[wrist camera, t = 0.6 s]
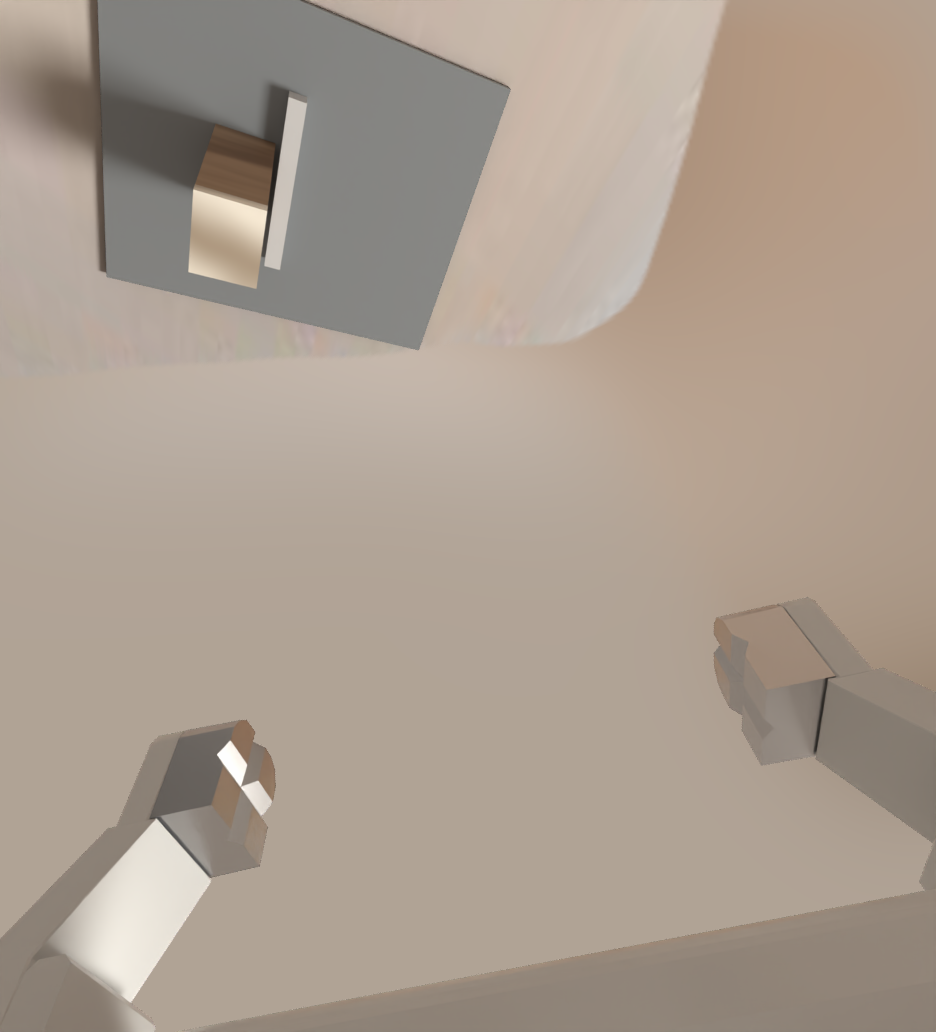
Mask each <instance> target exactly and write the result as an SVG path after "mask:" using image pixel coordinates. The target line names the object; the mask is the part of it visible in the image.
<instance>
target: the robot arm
mask: <svg viewBox="0 0 936 1032" xmlns="http://www.w3.org/2000/svg"><path fill="white" fill-rule="evenodd" d="M714 635H715V637H716V639H717V641H718V642H719V644H720V646H719V647H718V649H717V650H716V651H715V652H714V668H715V672H716V676H717V681H718V684H719V686H720V689H721V691H722V694H723V696H724V698H725V700H726V702H727V704H728V706H729V707H730V708H731V709H732V710H734V711H736V712H737V713H739V714H741V715H742V732H743V733H744V735H745V737H746V739H747V741H748V743H749V744H750V746H751V748H752V750H753V752H754V753H755V755H756V757H757V759H758V760H759V762H760V764H761V765H766V764H772V763H778V762H784V761H790V760H796V759H802V758H807V757H813V756H816V760H818V761H819V762H821V763H822V764H823V765H825V766H826V767H828V768H829V769H830V770H832V771H833V772H834V773H836V774H837V775H839V776H840V777H841V778H843V779H845V780H846V781H847V782H848V783H850V784H851V785H853V786H854V787H856V788H857V789H858V790H860V791H861V792H862V793H864V794H865V795H867V796H868V797H869V798H871V799H872V800H874V801H875V802H876V803H878V804H879V805H881V806H882V807H883V808H885V809H886V810H887V811H889V812H891V813H892V814H893V815H894V816H896V817H897V818H899V819H900V820H901V821H903V822H904V823H906V824H907V825H908V826H910V827H911V828H913V829H914V830H915V831H917V832H918V833H919V834H921V835H922V836H924V837H925V838H927V839H928V840H929V841H931V842H932V843H933V845H932V848H931V850H930V853H929V856H928V859H927V861H926V864H925V867H924V870H923V872H922V875H921V878H920V881H919V882H920V884H921V885H922V887H923V888H924V889H925V891H921V892H916V893H910V894H905V895H900V896H895V897H889V898H884V899H879V900H873V901H868V902H863V903H857V904H852V905H847V906H841V907H836V908H831V909H825V910H821V911H815V912H810V913H805V914H799V915H794V916H788V917H783V918H778V919H772V920H767V921H762V922H756V923H751V924H746V925H740V926H735V927H730V928H724V929H719V930H714V931H708V932H703V933H698V934H693V935H688V936H682V937H677V938H672V939H666V940H661V941H656V942H650V943H645V944H640V945H634V946H630V947H623V948H618V949H613V950H608V951H602V952H597V953H591V954H586V955H581V956H575V957H570V958H565V959H559V960H554V961H549V962H544V963H538V964H533V965H528V966H522V967H517V968H512V969H506V970H501V971H496V972H490V973H485V974H480V975H475V976H469V977H464V978H458V979H453V980H448V981H442V982H437V983H432V984H427V985H422V986H416V987H411V988H405V989H400V990H395V991H389V992H384V993H379V994H373V995H369V996H363V997H358V998H352V999H347V1000H342V1001H336V1002H331V1003H326V1004H321V1005H315V1006H310V1007H305V1008H299V1009H295V1010H289V1011H284V1012H278V1013H273V1014H267V1015H262V1016H257V1017H252V1018H246V1019H241V1020H236V1021H230V1022H226V1023H220V1024H215V1025H209V1026H204V1027H199V1028H193V1029H188V1030H183V1031H177V1032H936V692H935V691H933V690H931V689H928V688H926V687H924V686H922V685H920V684H918V683H915V682H913V681H911V680H909V679H906V678H904V677H902V676H900V675H898V674H896V673H893V672H891V671H889V670H887V669H885V668H880V669H873V668H872V667H871V666H870V665H869V664H868V662H867V661H866V660H865V659H864V658H863V657H862V655H861V654H860V653H859V652H858V651H857V650H856V648H855V647H854V646H853V645H852V644H851V643H850V642H849V640H848V639H847V638H846V637H845V636H844V634H843V633H842V632H841V631H840V630H839V629H838V627H837V626H836V625H835V624H834V623H833V621H832V620H831V619H830V618H829V617H828V616H827V614H826V613H825V612H824V611H823V610H822V609H821V607H820V606H819V605H818V604H817V603H816V601H815V600H813V599H811V598H808V597H806V598H802V599H797V600H793V601H788V602H784V603H779V604H777V605H769V606H765V607H761V608H756V609H752V610H747V611H743V612H739V613H734V614H729V615H725V616H721V617H717V618H716V620H715V622H714ZM254 735H255V731H254V729H253V728H252V727H251V725H250V724H249V723H248V721H247V720H238V721H233V722H228V723H223V724H217V725H212V726H206V727H201V728H196V729H190V730H186V731H182V732H177V733H171V734H166V735H161V736H158V737H157V738H156V739H155V740H154V741H153V742H152V743H151V745H150V747H149V750H148V752H147V754H146V757H145V760H144V762H143V764H142V766H141V769H140V771H139V773H138V776H137V778H136V781H135V783H134V786H133V788H132V790H131V793H130V795H129V797H128V800H127V802H126V805H125V807H124V809H123V812H122V814H121V816H120V819H119V822H118V824H117V826H116V827H112V828H108V829H107V830H106V831H105V832H104V833H103V834H102V835H101V836H100V837H99V838H98V839H97V840H96V841H95V842H94V843H93V844H92V845H91V846H90V847H89V848H88V849H87V850H86V851H85V852H84V853H83V854H82V855H81V857H80V858H79V859H78V860H77V861H76V862H75V863H74V864H73V865H72V866H71V867H70V868H69V869H68V870H67V871H66V872H65V873H64V874H63V875H62V876H61V877H60V878H59V879H58V880H57V881H56V882H55V883H54V884H53V885H52V886H51V887H50V888H49V889H48V890H47V891H46V892H45V894H43V896H41V898H40V899H39V900H38V901H37V902H36V903H35V904H34V905H33V906H32V907H31V908H30V909H29V910H28V911H27V912H26V913H25V914H24V915H23V916H22V917H21V918H20V919H19V920H18V921H17V922H16V923H15V924H14V925H13V926H12V927H11V928H10V929H9V930H8V931H7V932H6V933H5V935H4V936H3V937H2V938H1V939H0V1032H154V1031H155V1027H156V1026H155V1024H154V1022H153V1020H152V1018H151V1017H149V1016H148V1015H146V1014H145V1013H144V1012H142V1011H141V1010H140V1009H138V1008H137V1007H136V1006H134V1005H133V1004H132V1003H131V1002H132V1000H133V998H134V997H135V995H136V994H137V992H138V991H139V989H140V988H141V986H142V985H143V983H144V982H145V980H146V979H147V977H148V976H149V974H150V973H151V971H152V970H153V968H154V967H155V965H156V964H157V962H158V961H159V959H160V958H161V956H162V955H163V953H164V952H165V950H166V949H167V947H168V946H169V944H170V943H171V941H172V939H173V938H174V936H175V935H176V934H177V932H178V931H179V929H180V928H181V926H182V925H183V923H184V922H185V920H186V919H187V917H188V915H189V914H190V912H191V911H192V909H193V908H194V906H195V905H196V903H197V902H198V900H199V899H200V897H201V896H202V894H203V893H204V891H205V890H206V888H207V887H208V885H209V884H210V882H211V879H210V878H212V877H216V876H220V875H225V874H229V873H233V872H238V871H242V870H246V869H251V868H255V867H259V866H260V863H261V858H262V853H263V848H264V843H265V839H266V833H267V829H268V827H267V825H266V823H265V822H264V820H263V818H262V815H263V814H264V813H265V811H266V810H267V809H268V808H269V806H270V805H271V804H272V803H273V798H274V792H275V787H276V783H275V768H274V765H273V761H272V758H271V756H270V754H269V753H268V751H267V749H266V748H265V747H263V746H261V745H258V744H256V743H254V742H253V739H254Z"/></svg>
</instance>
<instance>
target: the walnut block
mask: <svg viewBox="0 0 936 1032" xmlns="http://www.w3.org/2000/svg"><path fill="white" fill-rule="evenodd" d="M275 145H276V143H273V142H270V141H267V140H264V139H261V138H258V137H255V136H252V135H249V134H246V133H243V132H240V131H237V130H234V129H231V128H228V127H225V126H222V125H219V124H215V127H214V130H213V133H212V136H211V139H210V142H209V145H208V148H207V151H206V154H205V157H204V159H203V162H202V165H201V168H200V171H199V174H198V177H197V180H196V183H195V186H194V189H193V202H192V219H191V236H190V252H189V269H188V272H190V273H194V274H198V275H202V276H206V277H210V278H214V279H218V280H222V281H227V282H231V283H235V284H239V285H243V286H247V287H251V288H255V289H256V288H257V281H258V274H259V267H260V260H261V252H262V245H263V238H264V231H265V224H266V217H267V209H268V201H269V193H270V185H271V177H272V169H273V161H274V153H275Z"/></svg>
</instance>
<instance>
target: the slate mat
mask: <svg viewBox="0 0 936 1032" xmlns="http://www.w3.org/2000/svg"><path fill="white" fill-rule="evenodd" d="M98 30H99V60H100V91H101V121H102V152H103V183H104V213H105V244H106V274H107V277H109V278H113V279H118V280H122V281H126V282H130V283H135V284H139V285H143V286H147V287H152V288H156V289H160V290H164V291H169V292H173V293H177V294H181V295H186V296H190V297H194V298H198V299H203V300H207V301H211V302H216V303H220V304H224V305H228V306H233V307H237V308H241V309H245V310H250V311H254V312H258V313H262V314H267V315H271V316H275V317H279V318H284V319H288V320H292V321H296V322H301V323H305V324H309V325H313V326H318V327H322V328H326V329H330V330H335V331H339V332H343V333H347V334H352V335H356V336H360V337H365V338H369V339H373V340H377V341H382V342H386V343H390V344H394V345H399V346H403V347H407V348H411V349H416V350H419V348H420V345H421V342H422V339H423V337H424V334H425V331H426V328H427V325H428V322H429V320H430V317H431V314H432V311H433V308H434V305H435V303H436V300H437V297H438V294H439V291H440V288H441V286H442V283H443V280H444V277H445V274H446V271H447V269H448V266H449V263H450V260H451V257H452V254H453V252H454V249H455V246H456V243H457V240H458V237H459V235H460V232H461V229H462V226H463V223H464V221H465V218H466V215H467V212H468V209H469V206H470V204H471V201H472V198H473V195H474V192H475V189H476V187H477V184H478V181H479V178H480V175H481V172H482V170H483V167H484V164H485V161H486V158H487V155H488V153H489V150H490V147H491V144H492V141H493V138H494V136H495V133H496V130H497V127H498V124H499V121H500V119H501V116H502V113H503V110H504V107H505V104H506V102H507V99H508V96H509V93H510V90H511V89H510V88H509V87H507V86H505V85H502V84H500V83H498V82H495V81H493V80H491V79H488V78H486V77H484V76H481V75H479V74H476V73H474V72H472V71H469V70H467V69H465V68H462V67H460V66H457V65H455V64H453V63H450V62H448V61H446V60H443V59H441V58H439V57H436V56H434V55H431V54H429V53H427V52H424V51H422V50H420V49H417V48H415V47H413V46H410V45H408V44H405V43H403V42H401V41H398V40H396V39H394V38H391V37H389V36H387V35H384V34H382V33H379V32H377V31H375V30H372V29H370V28H368V27H365V26H363V25H361V24H358V23H356V22H353V21H351V20H349V19H346V18H344V17H342V16H339V15H337V14H335V13H332V12H330V11H327V10H325V9H323V8H320V7H318V6H316V5H313V4H311V3H309V2H306V1H304V0H98ZM215 124H219V125H222V126H225V127H228V128H231V129H234V130H237V131H240V132H243V133H246V134H249V135H252V136H255V137H258V138H261V139H264V140H267V141H270V142H273V143H276V145H275V153H274V161H273V169H272V177H271V185H270V193H269V201H268V209H267V217H266V224H265V231H264V238H263V245H262V252H261V260H260V267H259V274H258V281H257V288H256V289H255V288H251V287H247V286H243V285H239V284H235V283H231V282H227V281H222V280H218V279H214V278H210V277H206V276H202V275H198V274H194V273H190V272H188V269H189V252H190V236H191V219H192V202H193V189H194V186H195V183H196V180H197V177H198V174H199V171H200V168H201V165H202V162H203V159H204V157H205V154H206V151H207V148H208V145H209V142H210V139H211V136H212V133H213V130H214V127H215Z"/></svg>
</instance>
